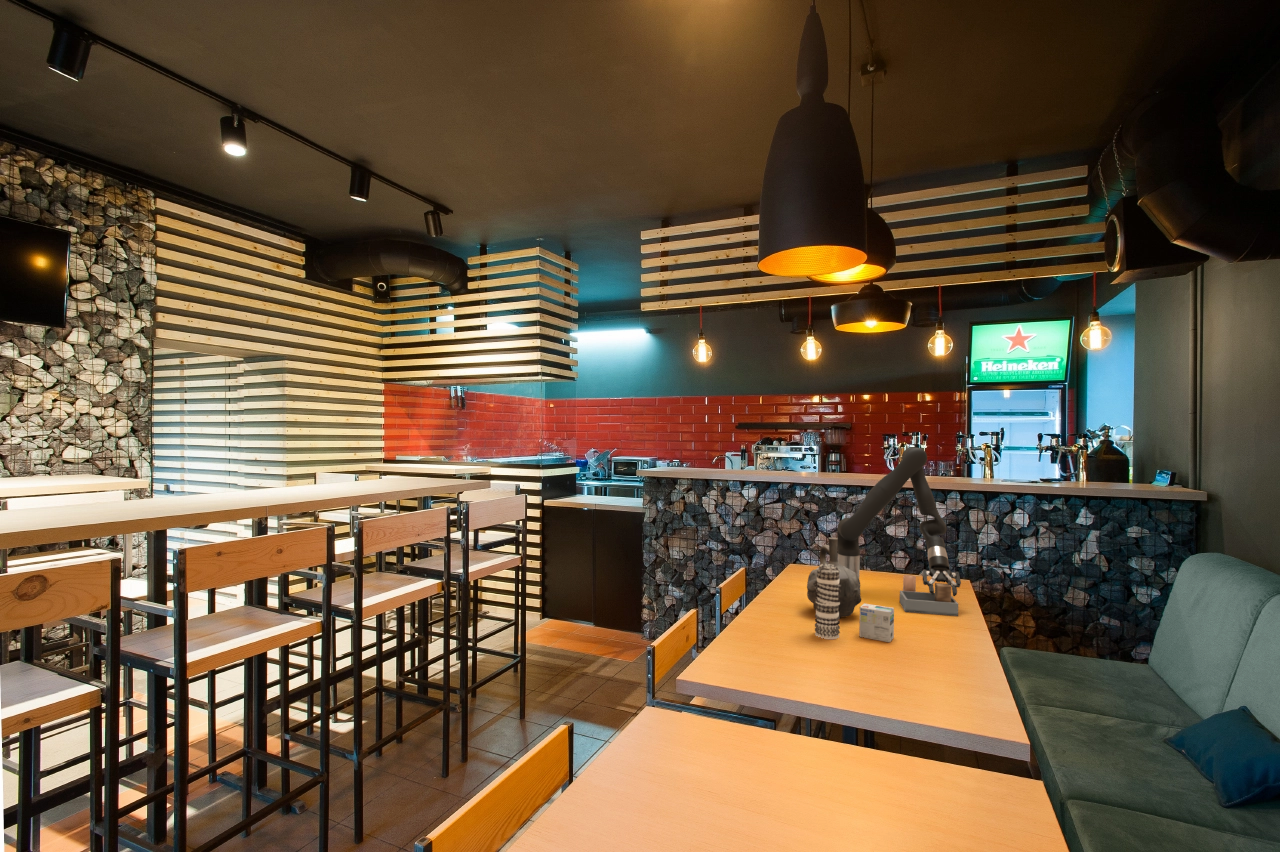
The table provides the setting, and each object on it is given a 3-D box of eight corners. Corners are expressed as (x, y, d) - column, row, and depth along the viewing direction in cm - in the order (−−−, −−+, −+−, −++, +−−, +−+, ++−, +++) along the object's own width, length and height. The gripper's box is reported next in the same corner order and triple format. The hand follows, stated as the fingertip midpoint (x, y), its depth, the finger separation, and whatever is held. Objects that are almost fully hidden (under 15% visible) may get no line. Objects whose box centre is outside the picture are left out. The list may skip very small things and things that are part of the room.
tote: (905, 612, 260) (905, 599, 260) (899, 602, 274) (899, 590, 274) (958, 616, 255) (958, 603, 255) (949, 606, 270) (949, 594, 269)
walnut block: (937, 610, 259) (937, 585, 259) (934, 607, 264) (935, 583, 264) (950, 611, 258) (951, 586, 258) (947, 608, 263) (948, 583, 262)
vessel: (790, 606, 265) (791, 533, 265) (835, 602, 272) (836, 531, 272) (826, 624, 242) (827, 544, 242) (874, 619, 249) (875, 542, 249)
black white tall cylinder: (810, 637, 227) (812, 566, 227) (816, 629, 236) (818, 561, 235) (837, 641, 223) (838, 569, 223) (842, 633, 231) (843, 564, 231)
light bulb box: (894, 637, 228) (894, 607, 228) (890, 643, 223) (891, 611, 222) (863, 632, 234) (863, 602, 234) (858, 637, 228) (859, 606, 228)
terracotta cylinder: (903, 600, 277) (904, 577, 277) (902, 597, 282) (902, 574, 282) (916, 601, 276) (916, 578, 276) (914, 598, 281) (914, 575, 281)
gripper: (921, 553, 269) (926, 588, 258) (958, 555, 266) (965, 590, 255) (918, 563, 275) (923, 597, 263) (955, 565, 271) (961, 600, 260)
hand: (943, 594), depth 259 cm, fingers open, 7 cm apart
